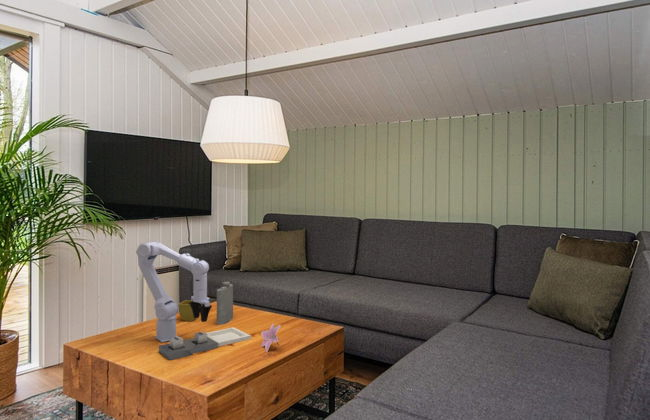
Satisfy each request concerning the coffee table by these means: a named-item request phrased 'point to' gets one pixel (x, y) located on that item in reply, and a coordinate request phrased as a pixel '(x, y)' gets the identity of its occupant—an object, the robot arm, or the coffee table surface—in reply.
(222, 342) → the white square tray
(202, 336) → the block
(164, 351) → the metal frame
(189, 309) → the flower pot
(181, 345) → the billet
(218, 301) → the hip flask
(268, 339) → the lily
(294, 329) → the coffee table surface
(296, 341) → the coffee table surface
